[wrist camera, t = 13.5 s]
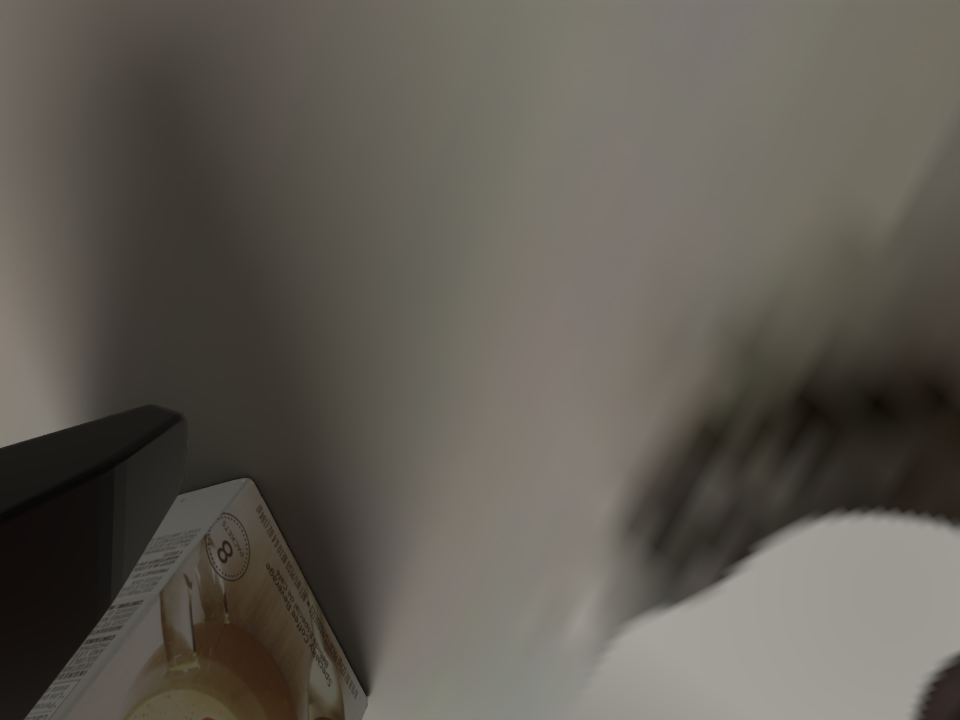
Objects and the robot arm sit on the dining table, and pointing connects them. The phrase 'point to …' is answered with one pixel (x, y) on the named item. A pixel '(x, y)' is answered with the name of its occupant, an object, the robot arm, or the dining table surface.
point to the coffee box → (210, 628)
